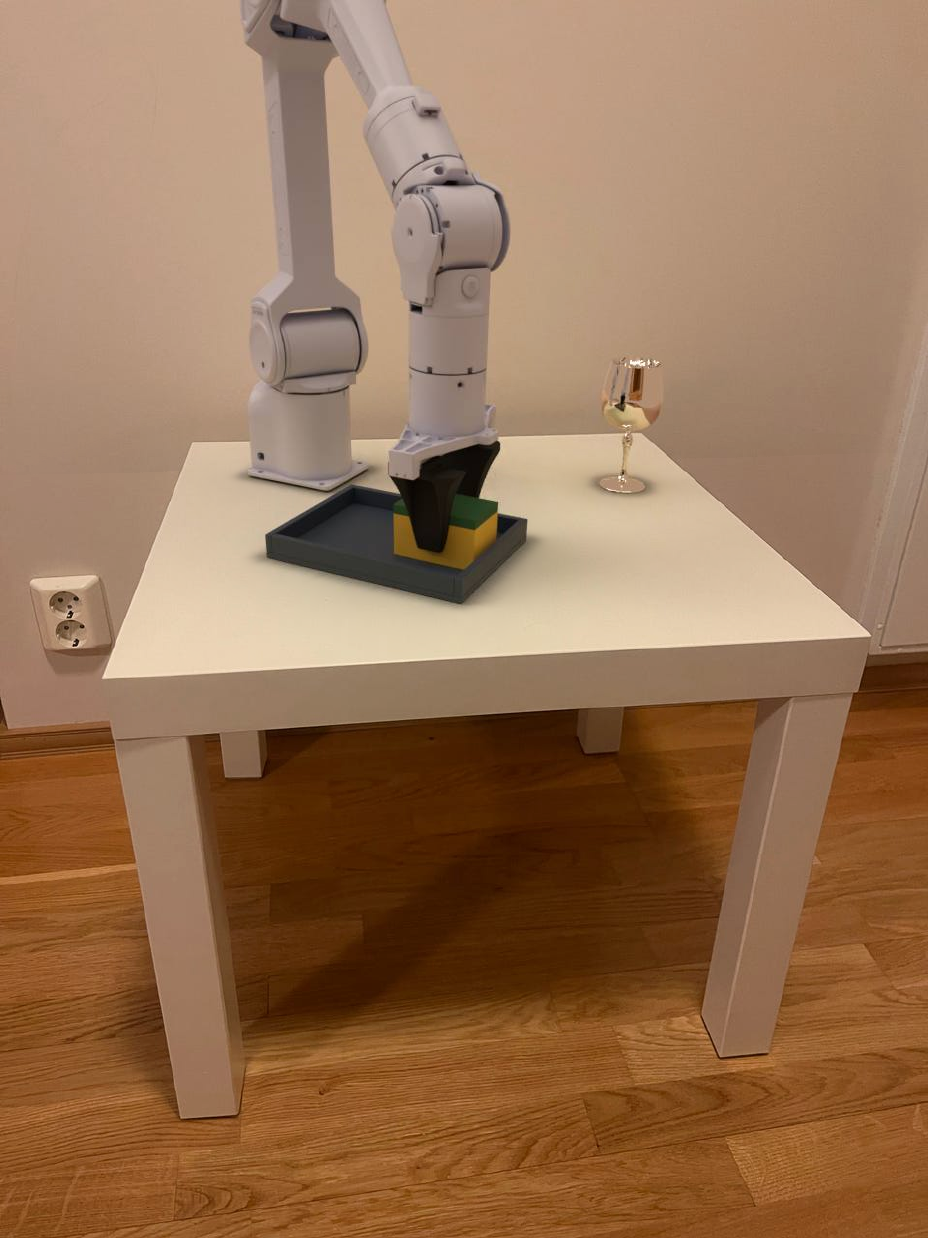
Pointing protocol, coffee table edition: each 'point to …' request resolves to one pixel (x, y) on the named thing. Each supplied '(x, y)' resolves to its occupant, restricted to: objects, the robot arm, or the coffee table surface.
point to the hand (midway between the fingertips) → (444, 538)
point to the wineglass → (631, 408)
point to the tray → (381, 545)
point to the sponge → (451, 532)
